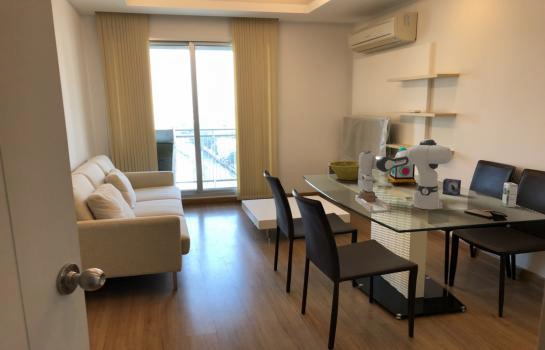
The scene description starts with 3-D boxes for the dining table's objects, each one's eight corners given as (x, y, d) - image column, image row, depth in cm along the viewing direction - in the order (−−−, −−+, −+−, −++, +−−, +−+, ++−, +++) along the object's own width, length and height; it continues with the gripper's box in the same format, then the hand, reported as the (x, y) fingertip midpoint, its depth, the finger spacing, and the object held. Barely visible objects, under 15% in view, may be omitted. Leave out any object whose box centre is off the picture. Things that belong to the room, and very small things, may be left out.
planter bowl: (324, 176, 353) (324, 161, 350) (359, 174, 356) (359, 159, 354) (334, 183, 321) (334, 167, 319) (372, 181, 325) (372, 165, 322)
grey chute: (355, 200, 268) (355, 194, 267) (372, 199, 269) (372, 193, 268) (370, 212, 239) (370, 205, 238) (389, 211, 240) (389, 204, 239)
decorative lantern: (418, 186, 304) (420, 148, 298) (392, 186, 304) (393, 148, 299) (409, 181, 324) (411, 145, 318) (385, 181, 324) (386, 145, 318)
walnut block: (359, 199, 264) (360, 191, 263) (371, 199, 265) (371, 190, 263) (362, 202, 258) (363, 193, 257) (374, 201, 259) (375, 192, 258)
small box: (441, 194, 279) (442, 179, 277) (445, 192, 284) (446, 178, 282) (457, 196, 272) (458, 181, 270) (460, 194, 277) (461, 179, 275)
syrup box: (501, 204, 248) (503, 182, 245) (510, 204, 248) (512, 182, 245) (506, 207, 243) (508, 184, 240) (516, 207, 242) (518, 184, 240)
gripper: (355, 172, 273) (355, 191, 276) (365, 178, 253) (365, 199, 256) (364, 172, 274) (364, 191, 277) (375, 177, 254) (374, 198, 257)
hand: (364, 195), depth 266 cm, fingers closed
